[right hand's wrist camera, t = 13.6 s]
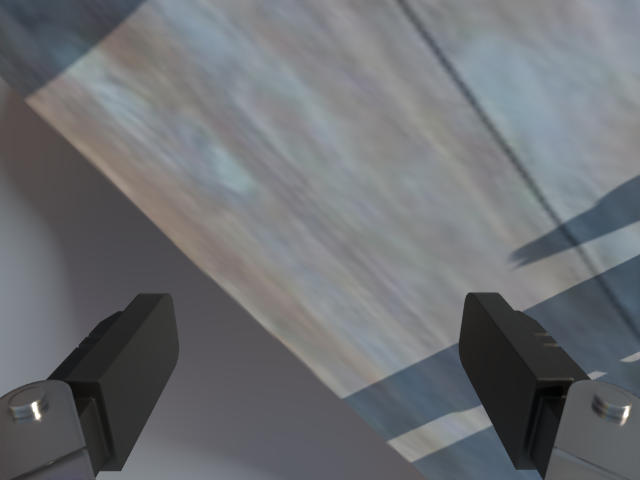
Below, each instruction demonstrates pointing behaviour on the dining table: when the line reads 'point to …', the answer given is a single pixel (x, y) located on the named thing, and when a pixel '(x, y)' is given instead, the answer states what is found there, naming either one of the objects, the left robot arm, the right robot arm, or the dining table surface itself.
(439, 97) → the dining table surface
